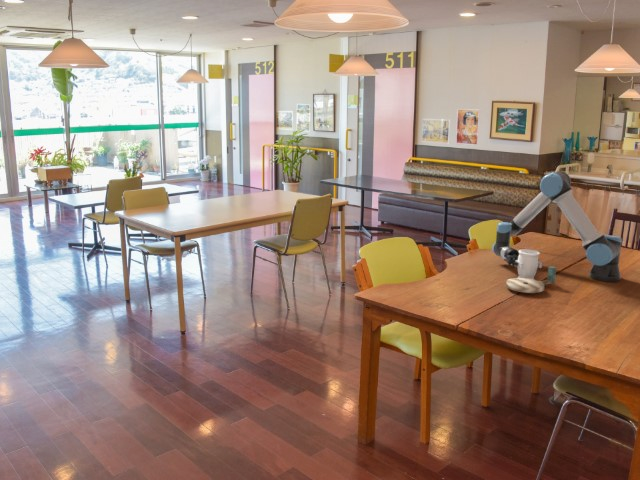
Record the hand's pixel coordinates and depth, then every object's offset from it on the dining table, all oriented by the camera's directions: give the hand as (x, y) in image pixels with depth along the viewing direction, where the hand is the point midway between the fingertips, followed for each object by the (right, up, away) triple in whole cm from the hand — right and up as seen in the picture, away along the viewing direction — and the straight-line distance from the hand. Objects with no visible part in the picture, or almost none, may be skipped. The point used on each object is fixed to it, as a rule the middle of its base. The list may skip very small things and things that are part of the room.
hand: (531, 265), depth 313 cm
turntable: (-3, -10, -10) cm, 15 cm away
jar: (-1, -7, +6) cm, 10 cm away
